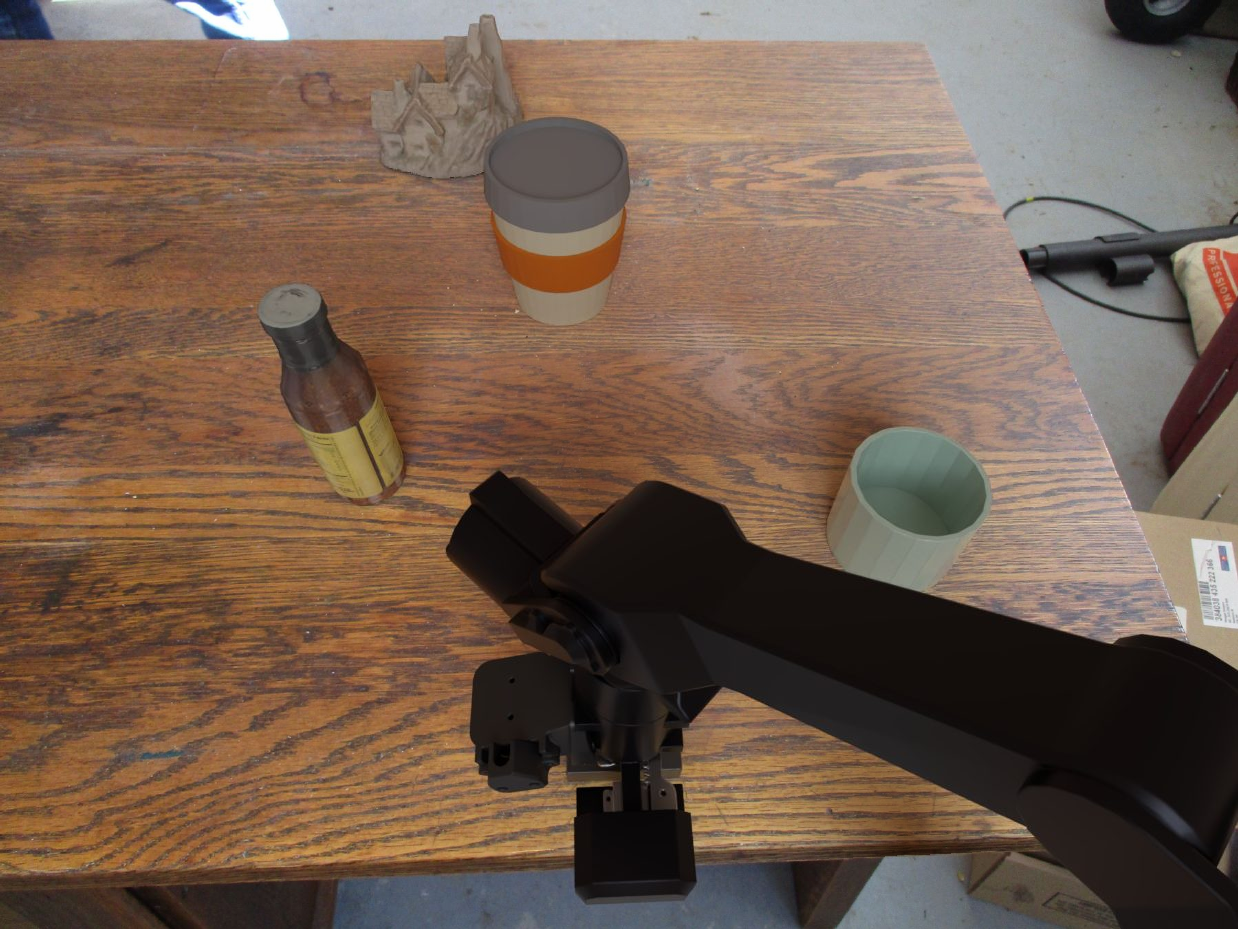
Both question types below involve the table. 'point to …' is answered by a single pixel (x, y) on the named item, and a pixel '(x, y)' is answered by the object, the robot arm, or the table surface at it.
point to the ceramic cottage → (448, 108)
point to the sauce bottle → (332, 397)
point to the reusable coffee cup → (558, 213)
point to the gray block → (597, 773)
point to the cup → (907, 507)
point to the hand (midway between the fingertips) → (623, 760)
